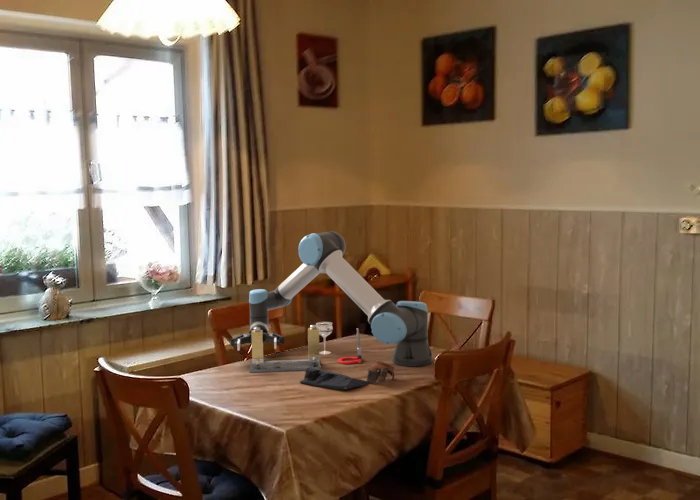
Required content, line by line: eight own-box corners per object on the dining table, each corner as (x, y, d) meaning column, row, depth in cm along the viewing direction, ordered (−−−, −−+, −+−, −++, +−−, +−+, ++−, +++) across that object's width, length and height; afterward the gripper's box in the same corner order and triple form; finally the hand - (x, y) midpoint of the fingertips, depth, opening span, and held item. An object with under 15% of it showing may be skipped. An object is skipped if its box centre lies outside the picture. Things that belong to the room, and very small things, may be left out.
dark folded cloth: (343, 395, 249) (342, 381, 248) (295, 383, 263) (295, 370, 263) (372, 384, 260) (372, 371, 260) (325, 373, 275) (325, 361, 274)
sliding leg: (263, 360, 285) (262, 326, 284) (263, 365, 278) (261, 330, 276) (252, 361, 285) (251, 326, 283) (252, 366, 278) (250, 330, 276)
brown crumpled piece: (361, 380, 266) (370, 358, 268) (385, 390, 267) (393, 369, 269) (369, 381, 254) (378, 358, 256) (394, 392, 256) (403, 369, 257)
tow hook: (337, 365, 285) (361, 364, 285) (334, 332, 284) (359, 330, 283) (338, 360, 294) (362, 358, 293) (336, 327, 292) (360, 326, 292)
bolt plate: (318, 360, 291) (317, 321, 289) (320, 369, 279) (319, 328, 277) (250, 363, 288) (249, 324, 287) (249, 372, 277) (247, 331, 275)
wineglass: (318, 350, 307) (317, 321, 305) (334, 350, 306) (333, 321, 304) (315, 354, 300) (314, 325, 299) (331, 355, 299) (331, 325, 298)
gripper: (290, 341, 302) (290, 354, 281) (227, 343, 300) (223, 357, 279) (289, 322, 301) (290, 334, 280) (226, 325, 299) (222, 337, 278)
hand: (256, 346), depth 279 cm, fingers open, 13 cm apart
